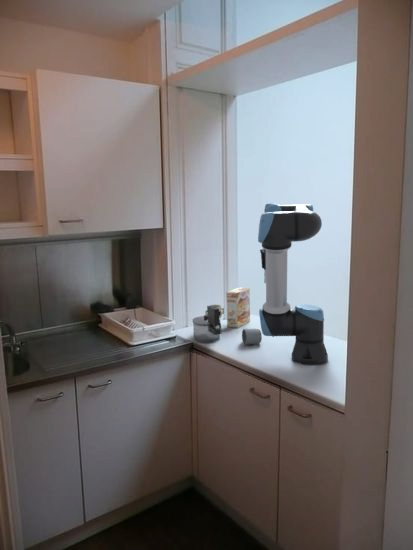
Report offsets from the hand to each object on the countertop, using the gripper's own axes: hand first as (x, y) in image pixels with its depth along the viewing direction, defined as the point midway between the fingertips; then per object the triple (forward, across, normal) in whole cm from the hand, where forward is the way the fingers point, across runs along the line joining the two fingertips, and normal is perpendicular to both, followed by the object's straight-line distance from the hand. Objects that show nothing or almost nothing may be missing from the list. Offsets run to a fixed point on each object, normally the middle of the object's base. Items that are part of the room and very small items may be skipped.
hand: (267, 283), depth 223 cm
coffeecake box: (+25, +30, -4) cm, 39 cm away
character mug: (+28, +28, +11) cm, 41 cm away
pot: (+30, +14, +23) cm, 41 cm away
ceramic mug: (+29, -2, +9) cm, 31 cm away
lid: (+21, +12, +25) cm, 35 cm away
